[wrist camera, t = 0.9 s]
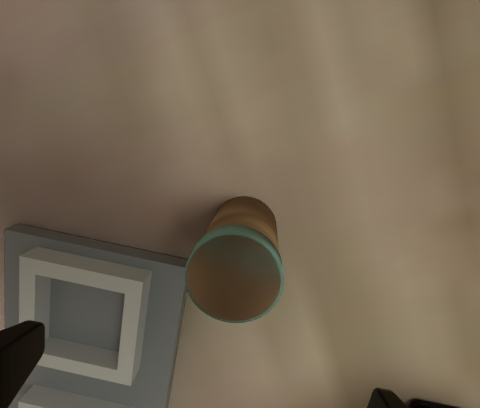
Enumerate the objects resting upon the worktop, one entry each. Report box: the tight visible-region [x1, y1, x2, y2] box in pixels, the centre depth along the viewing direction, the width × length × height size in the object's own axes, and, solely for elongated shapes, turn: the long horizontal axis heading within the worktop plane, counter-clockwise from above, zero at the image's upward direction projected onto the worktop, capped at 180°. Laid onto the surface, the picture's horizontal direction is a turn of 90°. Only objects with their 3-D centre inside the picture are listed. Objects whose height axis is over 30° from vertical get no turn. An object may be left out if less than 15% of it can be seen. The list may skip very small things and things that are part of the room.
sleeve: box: [185, 197, 283, 323], centre depth 17 cm, size 4×4×7 cm
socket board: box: [4, 224, 188, 408], centre depth 22 cm, size 12×20×3 cm, turn 169°
